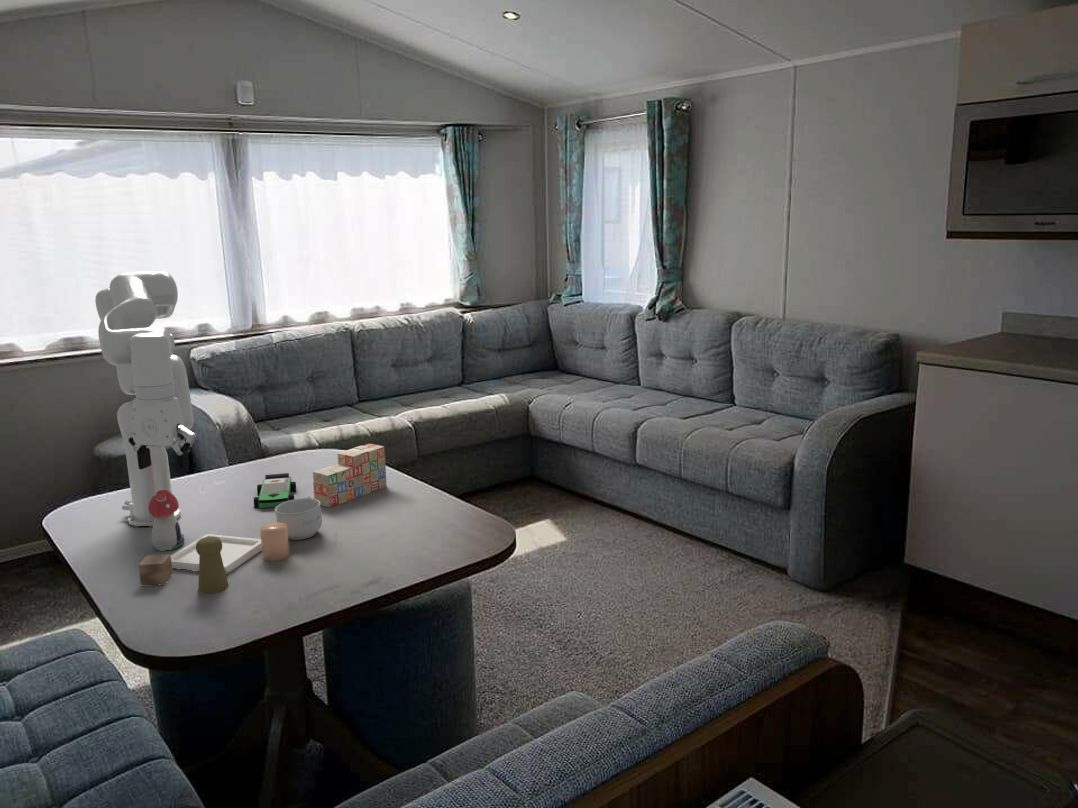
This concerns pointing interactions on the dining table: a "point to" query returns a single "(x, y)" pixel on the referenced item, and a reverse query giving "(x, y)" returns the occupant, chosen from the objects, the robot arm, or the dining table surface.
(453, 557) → the dining table surface
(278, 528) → the peach rounded cylinder
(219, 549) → the cork
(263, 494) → the toy car
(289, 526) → the teacup
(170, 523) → the decorative ornament
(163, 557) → the walnut block
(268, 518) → the dining table surface
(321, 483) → the stack of blocks
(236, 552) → the tray
